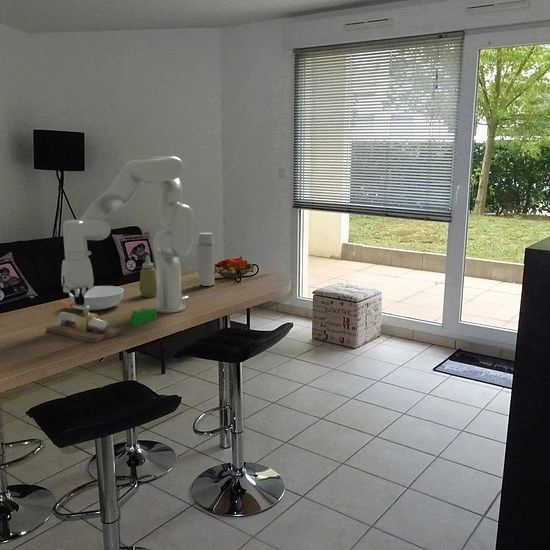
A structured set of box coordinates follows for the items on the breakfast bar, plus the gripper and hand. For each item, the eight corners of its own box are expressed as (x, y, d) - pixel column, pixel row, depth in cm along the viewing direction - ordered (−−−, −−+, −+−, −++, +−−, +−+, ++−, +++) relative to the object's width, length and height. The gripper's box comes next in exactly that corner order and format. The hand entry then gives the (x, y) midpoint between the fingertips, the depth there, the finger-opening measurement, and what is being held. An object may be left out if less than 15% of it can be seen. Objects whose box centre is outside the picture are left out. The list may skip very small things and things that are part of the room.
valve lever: (92, 313, 198) (92, 305, 198) (86, 315, 196) (85, 307, 195) (65, 308, 205) (65, 300, 204) (59, 310, 203) (58, 302, 202)
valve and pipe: (68, 321, 208) (67, 308, 207) (111, 331, 196) (110, 317, 195) (56, 325, 204) (55, 311, 203) (99, 335, 192) (98, 320, 191)
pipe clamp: (149, 318, 219) (149, 306, 218) (156, 320, 217) (156, 308, 216) (126, 324, 210) (126, 312, 209) (133, 326, 208) (133, 314, 207)
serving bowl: (98, 299, 248) (97, 283, 246) (135, 305, 238) (134, 289, 236) (58, 310, 230) (57, 293, 229) (96, 317, 220) (95, 299, 219)
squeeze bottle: (157, 293, 259) (155, 253, 255) (159, 297, 251) (158, 256, 248) (138, 294, 256) (137, 254, 253) (140, 298, 249) (138, 257, 245)
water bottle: (217, 284, 278) (216, 232, 273) (211, 287, 270) (210, 234, 265) (198, 283, 280) (197, 231, 275) (193, 286, 272) (191, 234, 267)
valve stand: (74, 323, 212) (74, 319, 211) (121, 333, 199) (121, 329, 199) (46, 331, 202) (46, 327, 201) (93, 343, 189) (93, 338, 189)
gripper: (92, 252, 210) (95, 301, 213) (50, 256, 200) (54, 308, 204) (101, 254, 204) (104, 305, 208) (59, 259, 195) (63, 312, 198)
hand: (79, 306), depth 206 cm, fingers closed
